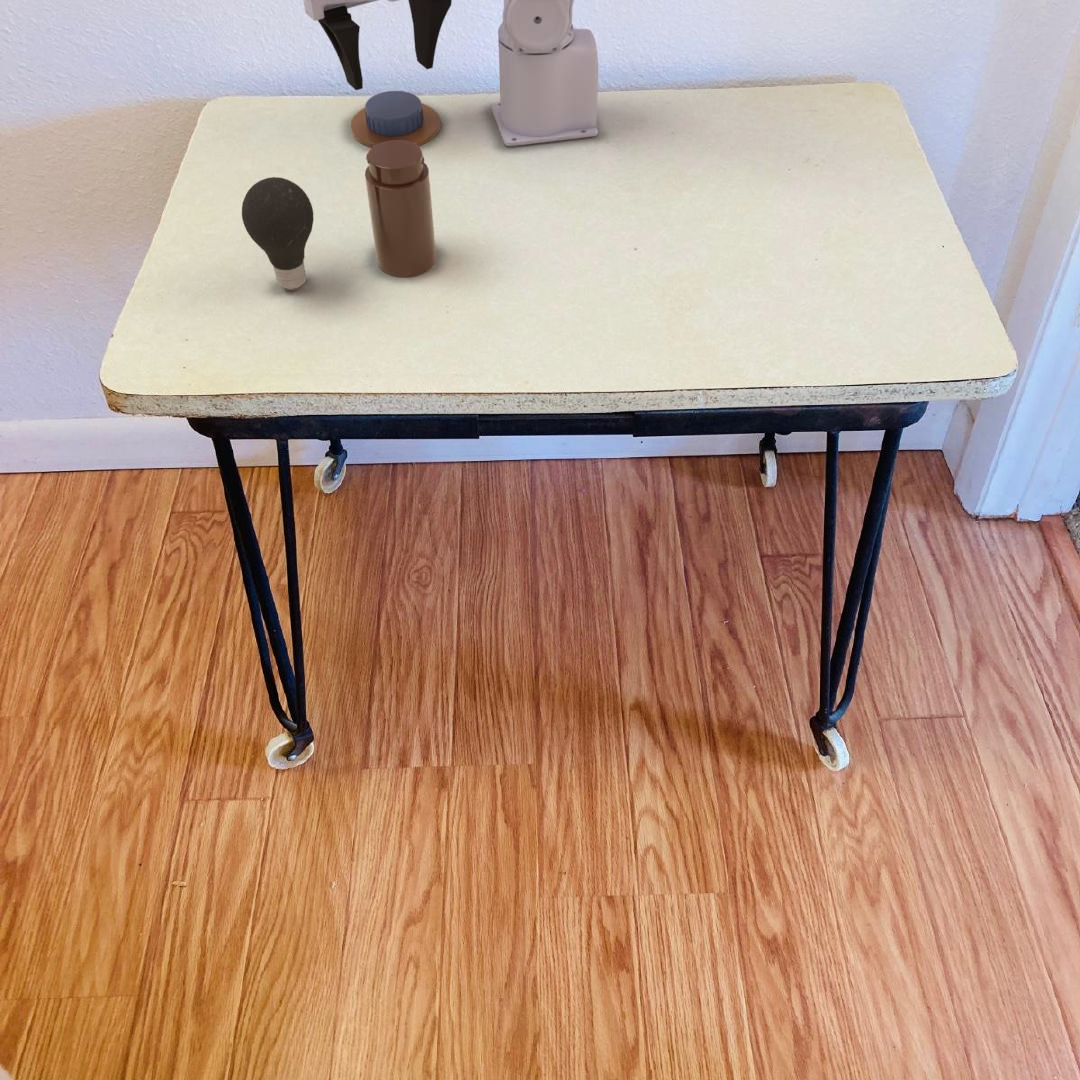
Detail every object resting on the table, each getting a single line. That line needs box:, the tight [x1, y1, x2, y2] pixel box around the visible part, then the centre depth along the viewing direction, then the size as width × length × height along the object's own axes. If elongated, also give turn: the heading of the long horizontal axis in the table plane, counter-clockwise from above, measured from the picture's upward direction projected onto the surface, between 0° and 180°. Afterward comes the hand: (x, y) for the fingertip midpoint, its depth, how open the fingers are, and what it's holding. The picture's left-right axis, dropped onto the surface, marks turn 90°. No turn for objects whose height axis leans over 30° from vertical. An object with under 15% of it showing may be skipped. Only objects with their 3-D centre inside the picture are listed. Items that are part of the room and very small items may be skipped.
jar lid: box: [364, 90, 424, 136], centre depth 109 cm, size 6×6×2 cm
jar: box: [364, 140, 437, 278], centre depth 91 cm, size 5×5×10 cm
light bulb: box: [241, 176, 314, 291], centre depth 89 cm, size 6×6×10 cm
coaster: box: [350, 102, 442, 148], centre depth 110 cm, size 9×9×1 cm
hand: (390, 74), depth 106 cm, fingers open, 7 cm apart
